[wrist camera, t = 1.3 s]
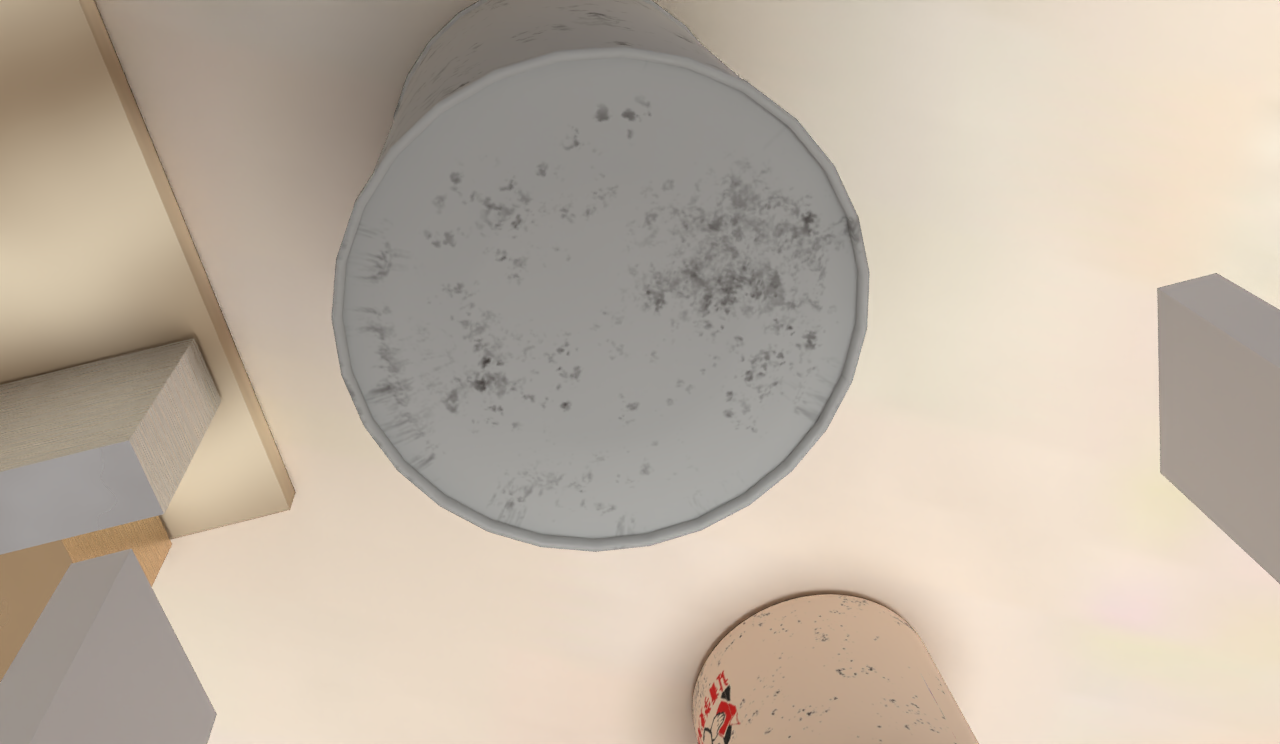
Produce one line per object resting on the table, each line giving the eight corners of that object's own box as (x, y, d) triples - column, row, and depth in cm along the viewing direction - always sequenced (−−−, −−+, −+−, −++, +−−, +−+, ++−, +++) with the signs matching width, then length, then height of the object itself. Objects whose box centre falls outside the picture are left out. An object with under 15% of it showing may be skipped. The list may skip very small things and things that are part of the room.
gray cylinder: (679, 351, 34) (769, 590, 23) (360, 277, 32) (287, 501, 21) (784, 35, 30) (952, 135, 19) (433, -71, 28) (393, -29, 17)
